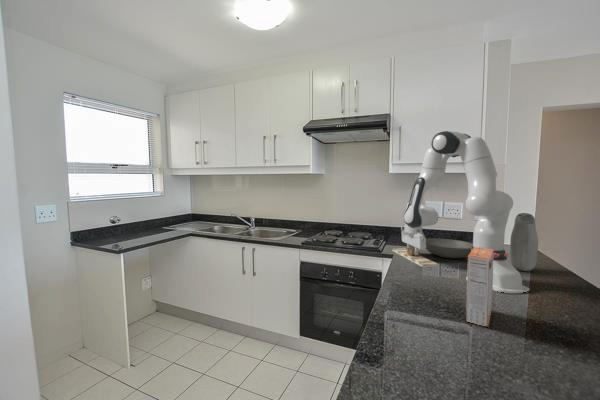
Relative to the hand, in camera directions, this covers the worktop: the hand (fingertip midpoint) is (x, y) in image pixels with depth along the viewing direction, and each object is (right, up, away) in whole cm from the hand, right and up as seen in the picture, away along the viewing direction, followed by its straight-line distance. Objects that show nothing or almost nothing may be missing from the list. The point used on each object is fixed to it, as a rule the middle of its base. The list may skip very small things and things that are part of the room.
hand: (413, 253), depth 153 cm
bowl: (+21, -3, +3) cm, 22 cm away
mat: (0, -3, 0) cm, 2 cm away
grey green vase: (+44, -4, -22) cm, 50 cm away
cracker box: (-8, -7, -68) cm, 69 cm away
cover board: (0, -2, 0) cm, 2 cm away
